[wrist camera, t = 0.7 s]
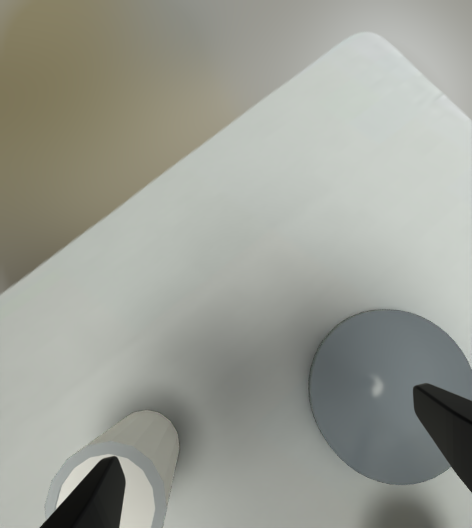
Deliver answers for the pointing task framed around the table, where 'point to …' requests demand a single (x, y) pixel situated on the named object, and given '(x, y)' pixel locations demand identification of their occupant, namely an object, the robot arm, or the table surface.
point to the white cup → (128, 467)
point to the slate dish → (384, 392)
